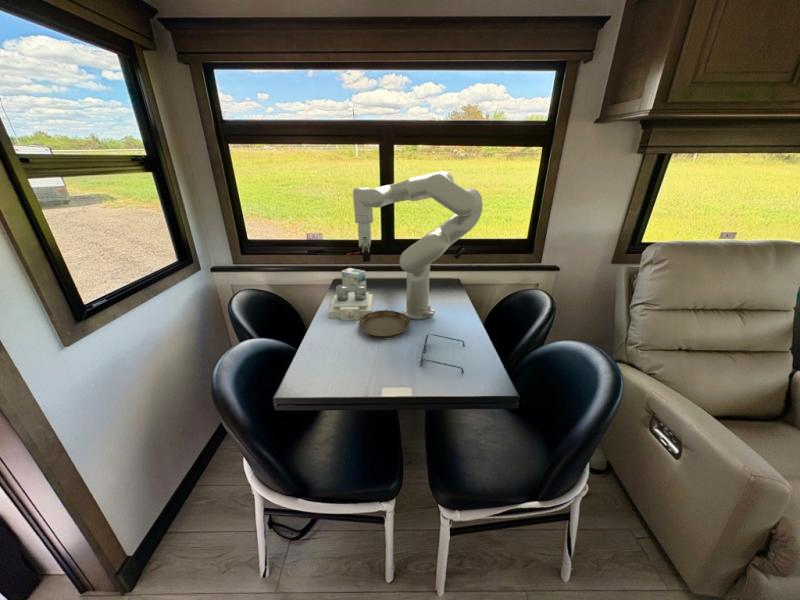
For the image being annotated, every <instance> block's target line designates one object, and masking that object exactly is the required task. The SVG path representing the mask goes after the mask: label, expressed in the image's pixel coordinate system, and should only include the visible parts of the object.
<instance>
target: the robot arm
mask: <svg viewBox="0 0 800 600" xmlns="http://www.w3.org/2000/svg"><path fill="white" fill-rule="evenodd" d="M352 199H353V210H354V223H355V224H357V234H358V235H357V236H358V247H359V248H361V247H362V248H361V249H362V253H361V254H362V263H365V262H366V263H367V262H368V263H369V262H371V243H372V228H371V227H372V225H371V224H372V223H374V214H373V213H374V210H373V208H382V207H385V206H387V205H390V204H394V203H400V202H404V201H410V202H417V201H422V200H427V199H433V200H434V201H436V202H437V203H438V204H440V205H442V206H443V207H444V208H446V209H447V210H449V211H451V212H452V213H454V214H453V215H452V216H451V217H449V218H448V219H446V221H444V222H443V223H441V224H440V225H439V226H437V227H436V228H434V229H432V230H430V231H429V232H427V233H426V234H425V235H423V237H421V238H420V239H419V240H417V241H416V242H414V243H413V244H411V245H410V246H409V247H408V248H406V249H405V250H404V251H402V253H401V254H400V256H399V266H400V268H401V269H402V270H403V271H404V272H406V307H404V308H403V310H402V314H404V315H406V316H407V317H408V318H409V320H419V321H421V320H426V319H428V318H430V317H431V318H433V317H434V315H435V312H436V311H435V309H432V308H431V305H430V304H429V298H430V297H429V295H430V294H429V292H430V271H431V264H432V263H433V262H434V261H435V260H436V261H437V259H439V258H440V257H441V256H442V255H444V253H445V252H446V251H447V250H448V248H450V246H452V245H453V244H454V243H456V242H457V241H458V240H460V239H461V238H463V236H466V234H467V233H469V232H470V231H472V229H473V228H475V226H476V225H477V223H478V222H479V220H480V218H481V215H482V212H483V198H482V195H481V192H480V191H478V190H477V189H476V188H473V187H471V188H470V187H469V188H468V187H466V188H465V189H464V188H463V186H460V185H459V184H457V183H455V180H454V176H452V174H451V173H450V172H448V171H445V170H441V171H439V170H438V171H435V172H432V173H428V174H423V175H419V176H418V175H417V176H414V177H410V178H407V179H406V180H403V181H400V182H399V181H398V182H395V183H390V184H386V185H381V186H376V187H372V188H370V187H369V186H368V187H367V186H359V187H355V188H353V190H352Z"/></svg>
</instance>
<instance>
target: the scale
mask: <svg viewBox="0 0 800 600" xmlns="http://www.w3.org/2000/svg"><path fill="white" fill-rule="evenodd" d="M348 295H349V299H348V300H347V301H338V300H337V294H334V297H333V298H332V302H331V304H330V308H329V311H328V314H329V318H330V319H335V318H336V319H337V318H340V321H360V319H361V318H362V317H363V316H365V315H366V314H369V313H371V312H373V300H374V299H373V298H374V297H373V293H370V291H366V300H363V301H357V300H355V294H354V292H348Z"/></svg>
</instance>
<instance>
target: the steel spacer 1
mask: <svg viewBox="0 0 800 600" xmlns="http://www.w3.org/2000/svg"><path fill="white" fill-rule="evenodd" d="M335 290H336V295H337V300H338V301H347V300H348V299H349V295H348V286H347V285H344V284H343V283H342V284H338V285H336V287H335Z"/></svg>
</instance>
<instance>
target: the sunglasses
mask: <svg viewBox="0 0 800 600" xmlns="http://www.w3.org/2000/svg"><path fill="white" fill-rule="evenodd" d="M429 335H432V336H434V337H435V336H436V337H440V338H443V339H449V340H453V341H457V342H461V343H462V347H466V345H465V341H464V340H460V339H456V338H452V337H448V336H442V335H437V334H432V333H428V334H427V335H426V337H425V341H424V345H423V349H422V353H421V358H420V363H421V364H419V366H420V367H421V366H422V363H423V360H425V358H424V355H425V354H426V351H427V349H426V345H427V341H428V337H429ZM424 348H425V349H424ZM426 361H427V362H431V363H434V364H435V363H436V364H440V365H443V366H449V367H453V368H458V369H461V374H462V373H464V369H463V367H461V366H457V365H453V364H448V363H443V362H439V361H433V360H431V359H430V360H429V359H426ZM464 374H465V373H464Z"/></svg>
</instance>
